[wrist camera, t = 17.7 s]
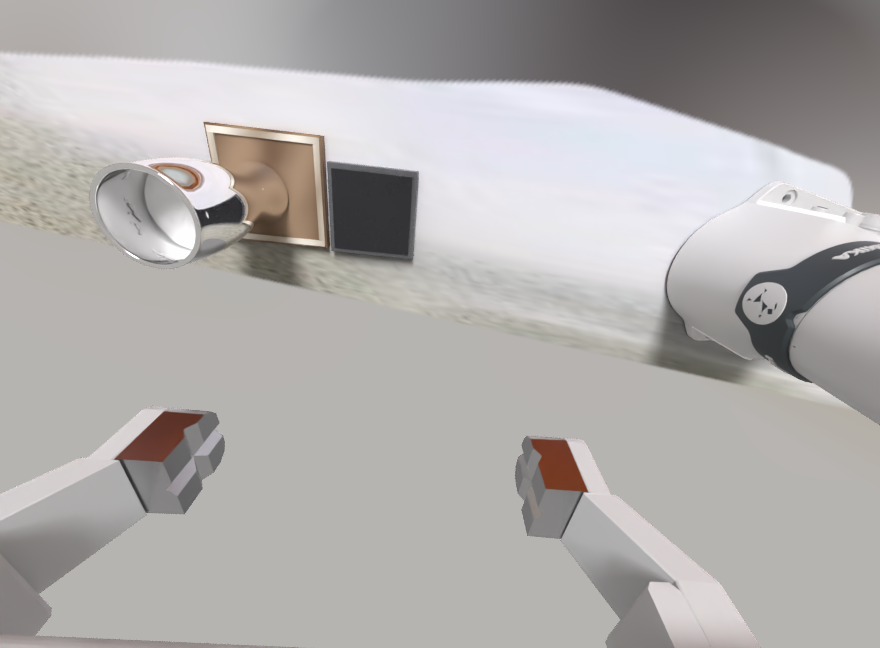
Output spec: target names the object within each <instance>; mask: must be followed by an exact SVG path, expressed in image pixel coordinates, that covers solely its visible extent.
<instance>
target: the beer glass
mask: <svg viewBox="0 0 880 648" xmlns="http://www.w3.org/2000/svg"><path fill="white" fill-rule="evenodd" d="M89 201H90V207H91V211H92V214H93V216H94V219H95V221H96V223H97V225H98V227H99V228H100V230H101V231H102V233H103V234H104V235H105V237H106V238H107V239H108V240H109V241H110V242H111V243H112V244H113V245H114V246H115V247H116V248H117V249H118V250H119V251H121V252H122V253H123V254H125V255H126V256H127V257H129V258H131V259H133V260H134V261H136V262H138V263H141V264H143V265H146V266H149V267H153V268H158V269H174V268H178V267H181V266H183V265H186V264H188V263H192V262H195V261H198V260H201V259H204V258H207V257H210V256H212V255H215V254H217V253H220V252H222V251H224V250H225V249H227V248H229V247H231V246H233V245H234V244H235V243H237V242H238V241H239V240H241V239H242V238H243V237H244V236H245V235H246V234H247V233H248V232H249V231H250V230H251V229H252V228H253V227H254V226H256V225H257V224H269V223H273V222H275V221H277V220H279V219H280V218H281V217H282V216H283V215H284V213H285V211H286V209H287V206H288V193H287V189H286V186H285V184H284V182H283V180H282V179H281V177H280V176H279V175H278V174H277V173H276V172H275V171H274V170H273V169H272V168H270V167H269V166H267V165H266V164H263V163H261V162H258V161H252V160H248V161H242V162H239V163H237V164H235V165H233V166H226V165H222V164H218V163H214V162H210V161H205V160H199V159H193V158H176V157H169V158H155V159H148V160H140V161H135V162H129V163H116V164H112V165H109V166H107V167H105V168H103V169H102V170H100V171H99V172H98V173H97V175H96V176H95V177H94V179H93V181H92V183H91V187H90V192H89Z"/></svg>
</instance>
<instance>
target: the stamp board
mask: <svg viewBox="0 0 880 648" xmlns="http://www.w3.org/2000/svg"><path fill="white" fill-rule="evenodd" d="M204 126H205V131H206V136H207V141H208V147H209V152H210V157H211V162H214V163H218V164H222V165H226V166H233V165H235V164H237V163H239V162H242V161H248V160H252V161H258V162H261V163H263V164H266V165H267V166H269V167H270V168H272V169H273V170H274V171H275V172H276V173H277V174H278V175H279V176H280V177H281V179H282V180H283V182H284V184H285V186H286V189H287V193H288V206H287V209H286V211H285V213H284V215H283V216H282V217H281V218H280V219H279V220H277V221H275V222H273V223H269V224H257V225H256V226H254V227H253V228H252V229H251V230H250V231H249V232H248V233H247V234H246V235H245V236H244V237H243V238H242V240H252V241H262V242H272V243H281V244H291V245H301V246H311V247H320V248H328V247H329V246H330V243H329V224H328V206H327V187H326V168H325V149H324V136H320V135H312V134H303V133H295V132H286V131H278V130H269V129H261V128H252V127H244V126H235V125H227V124H219V123H210V122H204Z"/></svg>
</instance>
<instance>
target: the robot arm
mask: <svg viewBox="0 0 880 648" xmlns="http://www.w3.org/2000/svg"><path fill="white" fill-rule="evenodd" d="M784 196H785V197H784ZM783 197H784V199H783V200H782V198H783ZM667 293H668V298H669V301H670V303H671V305H672V307H673V308H674V310H675V311H676V312H677V313H678V314H679V315H680V316H681V317H682V318H683V320H684V322H685V328H686V332H687V334H688V336H689V337H691V338H692V339H694V340H696V341H708V340H713V341H715V342H717V343H718V344H720V345H722V346H723V347H725V348H727V349H728V350H730V351H732V352H734V353H735V354H737V355H739V356H740V357H742V358H744V359H747V360H753V359H767V360H768V361H769V362H771V364H772V365H774V366H775V367H777V368H778V369H780V370H782V371H783V372H786V373H788V374H790V375H792V376H794V377H796V378H798V379H800V380H802V381H805V382H810V383H814V384H816V385H818V386H819V387H821V388H822V389H824V390H825V391H827V392H828V393H830V394H832V395H833V396H835V397H836V398H838V399H839V400H841V401H843V402H844V403H846V404H847V405H849V406H850V407H852V408H853V409H855V410H857V411H858V412H860V413H861V414H863V415H864V416H866V417H868V418H869V419H871V420H872V421H874V422H875V423H877V424H879V425H880V215H878V214H872V213H866V212H864V213H861V212H859V211H856V210H854V209H851V208H849V207H846V206H844V205H841V204H839V203H836V202H833V201H831V200H828V199H826V198H823V197H821V196H818V195H816V194H813V193H810V192H808V191H805V190H803V189H800V188H798V187H795V186H793V185H790V184H787V183H783V182H779V181H775V182H771V183H769V184H767V185H766V186H764V187H763V188H762V189H760V190H759V191H758V192H757V193H755V194H754V195H753V196H752V197H751V198H749V199H748V200H747V201H746V202H745V203H743V204H741V205H739V206H737V207H735V208H733V209H731V210H729V211H726V212H724V213H722V214H720V215H718V216H717V217H715V218H713V219H712V220H710V221H709V222H707V223H706V224H704V225H703V226H702V227H701V228H699V229H698V230H697V231H696V232H695V233H694V234H693V235H692V236H691V237H690V238H689V239H688V240H687V241H686V243H685V244H684V245H683V246H682V248H681V249H680V251H679V252H678V254H677V255H676V257H675V259H674V261H673V263H672V266H671V268H670V271H669V275H668V280H667ZM218 424H219V420H218V417H217V415H216V413H213V412H209V411H199V410H189V409H180V408H166V407H156V406H151V407H148V408H145V409H143V410H142V411H141V412H140V413H138V415H136V416H135V417H134V418H133V419H132V420H130V421H129V422H128V423H127V424H126V425H125V426H124V427H123V428H121V429H120V430H119V431H118V432H117V433H116V434H115V435H113V436H112V437H111V438H110V439H109V440H108V441H107V442H106V443H104V444H103V445H102V446H101V447H100V448H99V449H97V450H96V451H95V452H94V453H93V454H92V455H91V456H89V457H88V458H79V459H77V460H74V461H73V462H70V463H68V464H66V465H63V466H62V467H59V468H57V469H55V470H52V471H51V472H48V473H46V474H44V475H41V476H39V477H37V478H35V479H33V480H30V481H28V482H26V483H24V484H22V485H19V486H17V487H15V488H13V489H11V490H8V491H7V492H4V493H2V494H0V648H296V647H274V646H252V645H231V644H230V645H229V644H209V643H187V642H165V641H164V642H163V641H142V640H120V639H98V638H76V637H53V636H35V635H36V634H37V633H38V631H39V630H40V629H41V628H42V626H43V625H44V624H45V623H46V621H47V620H48V619H49V618H50V617H51V609H52V608H51V607H50V606H49V605H48V604H47V603H46V602H45V601H44V600H43V598H42V597H41V596H40V595H39V593H41V592H42V591H44V590H45V589H46V588H47V587H49V586H50V585H52V584H53V583H54V582H56V581H57V580H58V579H60V578H61V577H63V576H64V575H65V574H67V573H68V572H69V571H71V570H72V569H74V568H75V567H76V566H78V565H79V564H80V563H82V562H83V561H85V560H86V559H87V558H89V557H90V556H91V555H93V554H94V553H96V552H97V551H98V550H100V549H101V548H102V547H104V546H105V545H106V544H108V543H109V542H111V541H112V540H113V539H114V538H116V537H117V536H119V535H120V534H121V533H123V532H124V531H126V530H127V529H128V528H130V527H131V526H132V525H134V524H135V523H137V522H138V521H139V520H141V519H142V518H143V517H145V516H146V515H147V514H146V513H164V514H165V513H166V514H185V513H186V511H187V510H188V509H189V507H190V506H191V504H192V503H193V501H194V500H195V499H196V497H197V496H198V494H199V493H200V491H201V490H202V480H203V479H204V478H206V477H207V476H209V475H211V474H212V473H214V471H215V470H216V468H217V466H218V465H219V464H220V462H221V459H222V456H223V453H224V447H225V441H224V438H223V435H222V434H221V433H219V432H218V431H217V430H216V429H215V428H216V426H217V425H218ZM522 449H523V454H522V455H520V456H519V457H518V460H517V464H516V471H515V479H516V487H517V491H518V494H519V495H520V496H521V497H522V499H523V500H524V504H523V507H522V514H523V518H524V523H525V527H526V531H527V536H536V537H546V538H557V539H561V542H562V543H563V545H564V546H565V547H566V548H567V550H568V551H569V553H570V554H571V555H572V556H573V558H574V559H575V560H576V562H577V563H578V564H579V566H580V567H581V568H582V570H583V571H584V572H585V573H586V574H587V576H588V577H589V579H590V580H591V581H592V583H593V584H594V585H595V587H596V588H597V589H598V591H599V592H600V593H601V595H602V596H603V597H604V598H605V600H606V601H607V603H608V604H609V605H610V606H611V608H612V609H613V610H614V612H615V613H616V614H617V615H618V617H619V618H620V621H619V623H618V624H617V625H616V626H615V628H614V629H613V631H612V632H611V633H610V634H609V636H608V638H607V640H606V645H607V648H761V647H760V646H759V644H758V643H757V641H756V639H755V638H754V636H753V635H752V633H751V631H750V630H749V628H748V627H747V625H746V624H745V622H744V621H743V619H742V617H741V616H740V614H739V613H738V611H737V610H736V608H735V606H734V605H733V603H732V602H731V600H730V599H729V597H728V595H727V594H726V592H725V591H724V589H723V588H722V586H721V584H720V583H718V582H717V581H716V580H715V579H714V578H713V577H712V576H710V575H709V574H708V573H707V572H706V571H705V570H703V569H702V568H701V567H700V566H699V565H698V564H696V563H695V562H694V561H693V560H692V559H691V558H689V557H688V556H687V555H686V554H685V553H684V552H682V551H681V550H680V549H679V548H678V547H677V546H675V545H674V544H673V543H672V542H671V541H670V540H668V539H667V538H666V537H665V536H664V535H662V533H660V532H659V531H658V530H657V529H656V528H655V527H653V526H652V525H651V524H650V523H649V522H648V521H646V520H645V519H644V518H643V517H642V516H641V515H639V514H638V513H637V512H636V511H635V510H634V509H632V508H631V507H630V506H629V505H628V504H627V503H625V502H624V501H623V500H622V499H621V498H620V497H619V496H617V495H611V493H610V491H609V489H608V487H607V485H606V483H605V481H604V479H603V477H602V475H601V473H600V471H599V469H598V467H597V465H596V463H595V461H594V459H593V457H592V455H591V453H590V451H589V449H588V447H587V445H586V443H585V442H584V441H583V440H582V439H566V438H563V439H562V438H552V437H538V436H526V437H525V438H524V440H523V443H522Z"/></svg>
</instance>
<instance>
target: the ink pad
mask: <svg viewBox="0 0 880 648" xmlns="http://www.w3.org/2000/svg"><path fill="white" fill-rule="evenodd" d="M327 169H328V189H329V209H330V228H331V248H332V251H337V252H347V253H357V254H366V255H376V256H386V257H396V258H405V259H412V258H413V247H414V233H415V218H416V203H417V188H418V174H419V171H410V170H402V169H393V168H384V167H376V166H367V165H358V164H349V163H341V162H332V161H329V162H327Z"/></svg>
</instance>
